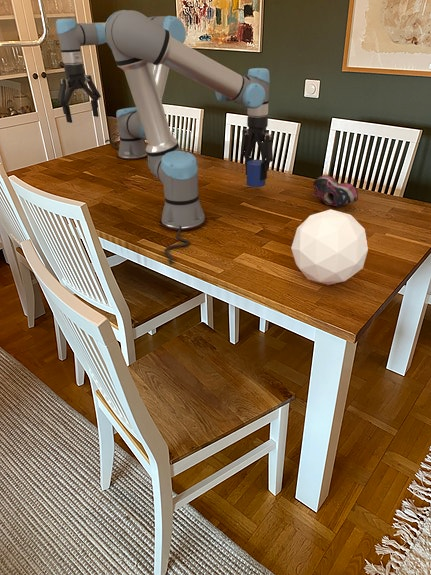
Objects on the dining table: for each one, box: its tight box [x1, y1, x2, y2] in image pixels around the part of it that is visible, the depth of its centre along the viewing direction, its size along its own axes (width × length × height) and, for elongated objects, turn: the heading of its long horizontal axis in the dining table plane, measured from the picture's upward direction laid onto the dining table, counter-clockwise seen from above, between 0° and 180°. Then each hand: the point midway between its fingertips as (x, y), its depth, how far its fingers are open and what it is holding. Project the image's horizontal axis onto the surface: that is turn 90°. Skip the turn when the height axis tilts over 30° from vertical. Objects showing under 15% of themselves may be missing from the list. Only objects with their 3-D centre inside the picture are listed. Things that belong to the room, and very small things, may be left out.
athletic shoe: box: [311, 174, 359, 208], centre depth 165 cm, size 11×22×12 cm
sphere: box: [290, 208, 369, 286], centre depth 117 cm, size 19×20×20 cm
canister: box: [246, 159, 267, 188], centre depth 173 cm, size 7×7×9 cm
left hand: (83, 119), depth 188 cm, fingers open, 13 cm apart
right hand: (256, 176), depth 174 cm, fingers closed on canister, 7 cm apart
